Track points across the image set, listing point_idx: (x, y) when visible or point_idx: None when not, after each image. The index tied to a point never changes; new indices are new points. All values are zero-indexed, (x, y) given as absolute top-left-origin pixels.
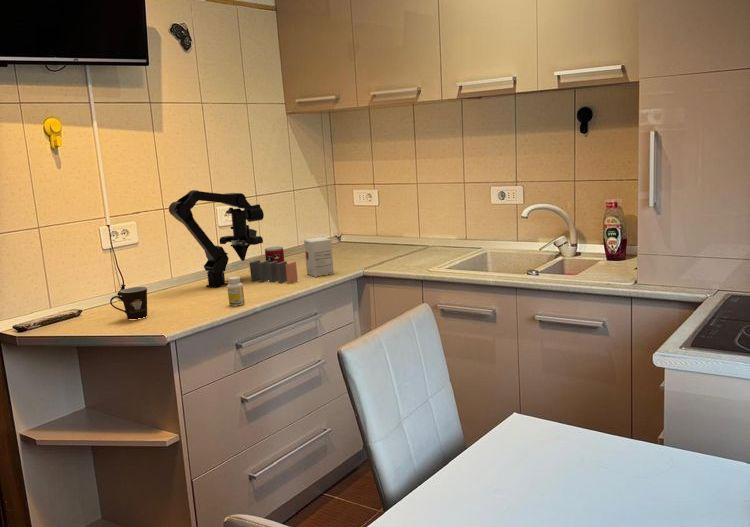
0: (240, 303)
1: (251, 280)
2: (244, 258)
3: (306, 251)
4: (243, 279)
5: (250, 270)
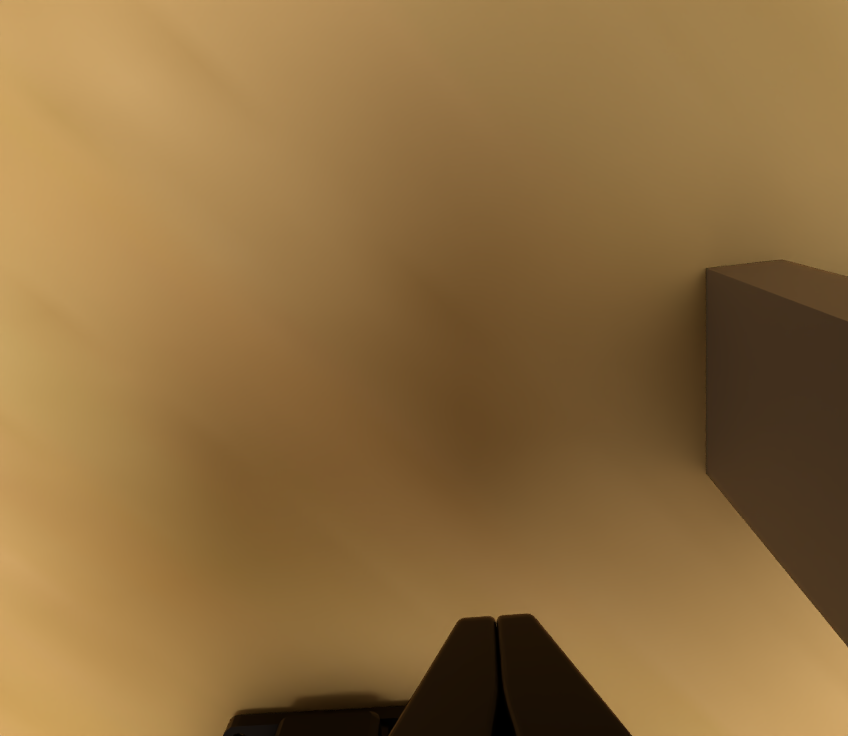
0: None
1: (716, 482)
2: (565, 680)
3: None
4: (412, 374)
5: (812, 596)
